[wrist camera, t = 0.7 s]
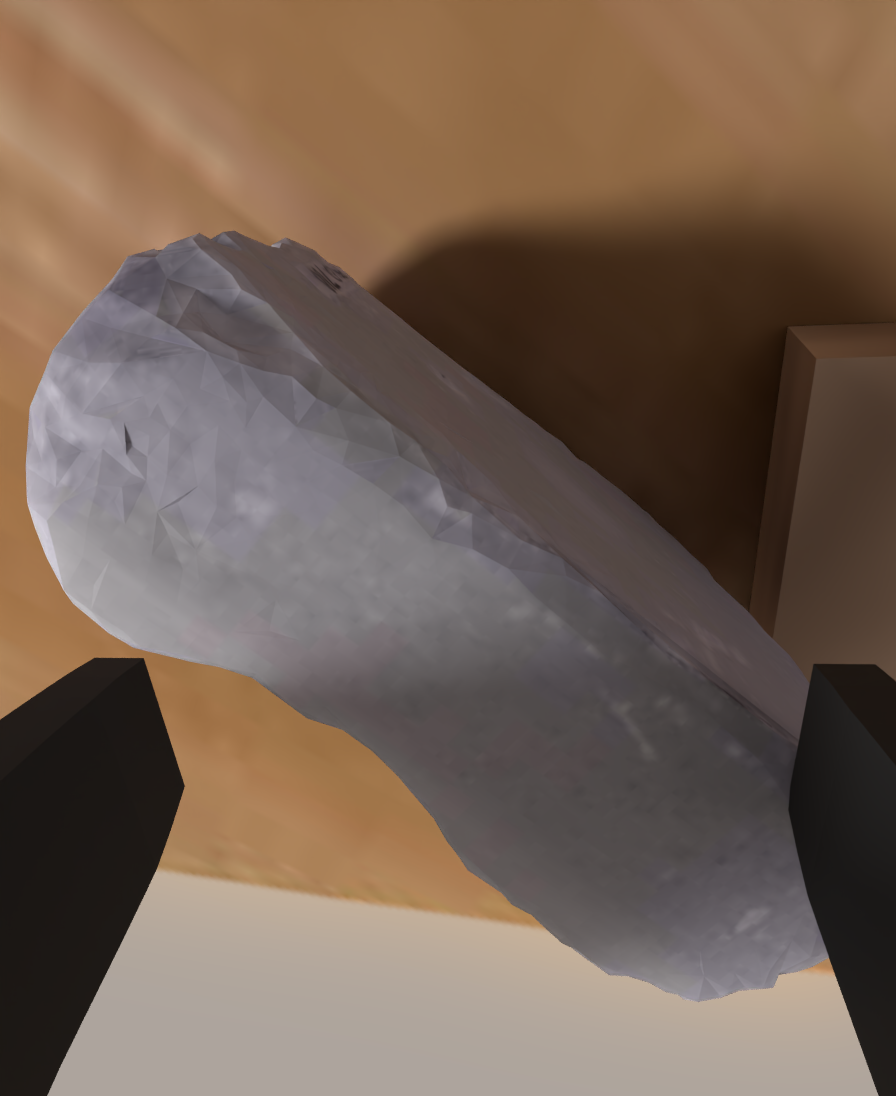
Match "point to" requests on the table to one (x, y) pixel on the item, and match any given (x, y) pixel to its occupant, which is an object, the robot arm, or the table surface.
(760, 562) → the walnut base
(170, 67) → the table surface
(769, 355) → the table surface
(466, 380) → the stone block
